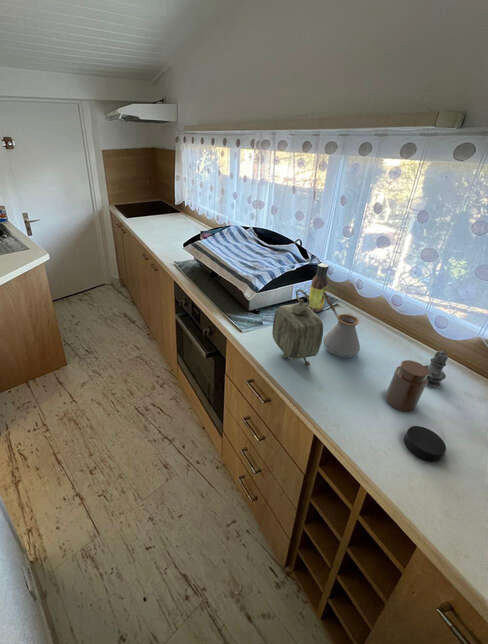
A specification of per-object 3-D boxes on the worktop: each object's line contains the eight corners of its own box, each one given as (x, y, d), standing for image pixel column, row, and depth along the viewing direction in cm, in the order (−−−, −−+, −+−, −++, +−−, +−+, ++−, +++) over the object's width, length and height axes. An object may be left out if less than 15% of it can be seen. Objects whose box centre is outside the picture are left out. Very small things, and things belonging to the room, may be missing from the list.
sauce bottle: (322, 313, 126) (332, 269, 116) (306, 311, 128) (315, 267, 118) (322, 305, 131) (331, 263, 122) (306, 303, 133) (315, 261, 124)
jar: (409, 394, 88) (425, 361, 82) (419, 414, 82) (436, 380, 76) (381, 389, 90) (395, 356, 84) (389, 408, 84) (403, 374, 78)
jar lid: (409, 457, 71) (413, 450, 70) (399, 430, 78) (402, 422, 76) (447, 466, 69) (452, 458, 68) (433, 437, 76) (438, 429, 74)
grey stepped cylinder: (444, 390, 89) (461, 358, 83) (420, 385, 91) (435, 354, 85) (437, 376, 94) (452, 345, 88) (414, 372, 96) (428, 341, 90)
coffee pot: (365, 359, 101) (378, 321, 94) (333, 363, 100) (343, 325, 93) (329, 323, 120) (337, 289, 113) (302, 325, 118) (308, 292, 111)
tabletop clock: (314, 368, 97) (331, 301, 86) (289, 373, 96) (302, 305, 84) (291, 341, 110) (302, 279, 98) (268, 345, 108) (277, 282, 96)
